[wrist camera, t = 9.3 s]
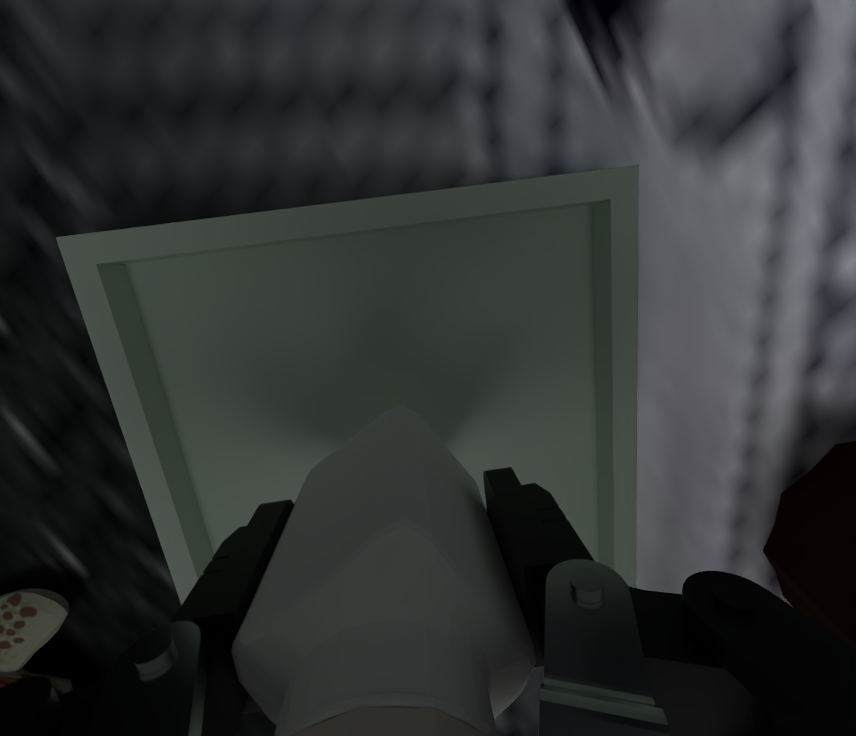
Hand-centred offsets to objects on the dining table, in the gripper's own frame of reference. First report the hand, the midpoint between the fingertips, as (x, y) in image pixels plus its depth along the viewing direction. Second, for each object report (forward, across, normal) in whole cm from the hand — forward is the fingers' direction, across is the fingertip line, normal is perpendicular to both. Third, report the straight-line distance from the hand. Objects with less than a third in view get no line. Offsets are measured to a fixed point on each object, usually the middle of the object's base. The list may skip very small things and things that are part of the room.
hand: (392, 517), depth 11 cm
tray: (+4, 0, 0) cm, 4 cm away
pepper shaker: (+2, 0, 0) cm, 2 cm away
